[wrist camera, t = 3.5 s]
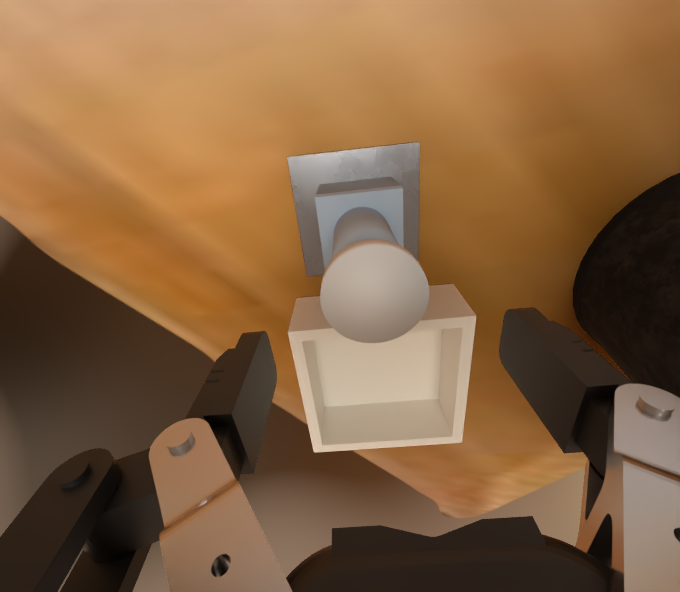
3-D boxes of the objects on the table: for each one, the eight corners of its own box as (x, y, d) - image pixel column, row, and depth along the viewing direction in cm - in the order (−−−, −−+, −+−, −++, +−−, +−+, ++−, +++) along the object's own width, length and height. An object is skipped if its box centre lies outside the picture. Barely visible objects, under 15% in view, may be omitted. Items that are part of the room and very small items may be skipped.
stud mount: (288, 156, 25) (277, 162, 20) (417, 141, 24) (433, 144, 20) (307, 273, 29) (302, 297, 25) (416, 262, 29) (429, 286, 25)
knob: (319, 184, 25) (297, 242, 12) (390, 176, 25) (444, 227, 12) (328, 251, 27) (317, 356, 15) (392, 245, 27) (438, 346, 14)
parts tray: (296, 297, 31) (287, 332, 25) (453, 283, 30) (476, 315, 25) (317, 408, 38) (313, 452, 32) (444, 398, 37) (461, 442, 32)
